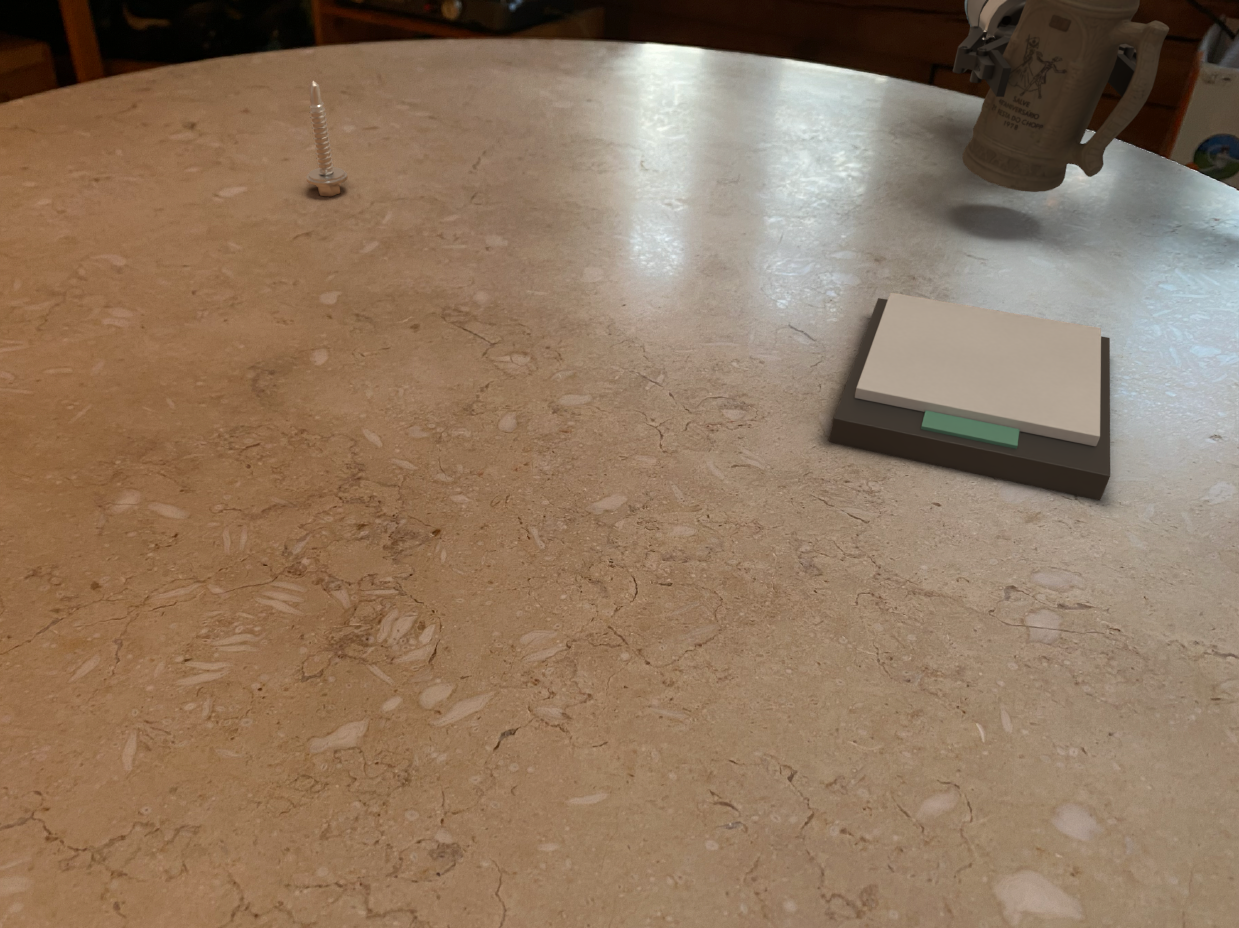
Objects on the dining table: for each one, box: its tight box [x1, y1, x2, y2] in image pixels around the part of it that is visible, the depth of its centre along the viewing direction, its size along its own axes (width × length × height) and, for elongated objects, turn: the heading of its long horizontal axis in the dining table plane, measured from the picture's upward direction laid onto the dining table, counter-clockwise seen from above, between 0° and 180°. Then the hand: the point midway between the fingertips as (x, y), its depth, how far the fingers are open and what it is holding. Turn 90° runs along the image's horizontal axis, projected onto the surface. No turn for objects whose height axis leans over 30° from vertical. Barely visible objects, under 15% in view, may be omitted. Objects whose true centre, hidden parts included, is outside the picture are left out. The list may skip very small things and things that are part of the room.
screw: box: [305, 80, 349, 198], centre depth 121 cm, size 13×5×5 cm
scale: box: [828, 292, 1111, 501], centre depth 87 cm, size 20×22×4 cm
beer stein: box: [961, 0, 1170, 193], centre depth 104 cm, size 15×11×20 cm
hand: (1068, 84), depth 101 cm, fingers closed on beer stein, 11 cm apart
